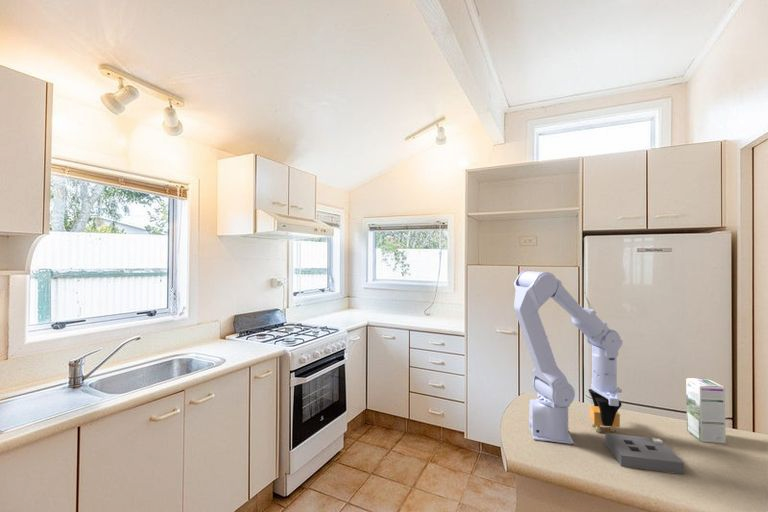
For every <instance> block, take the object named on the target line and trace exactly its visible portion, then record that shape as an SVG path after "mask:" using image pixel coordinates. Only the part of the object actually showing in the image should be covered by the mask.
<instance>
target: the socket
mask: <svg viewBox="0 0 768 512" xmlns="http://www.w3.org/2000/svg"><path fill="white" fill-rule="evenodd" d="M604 435H605V439H604V441H605V444H606V447H608V449H609V450H610V451H611V453H612V455H613V456H614V458H615V459H616V461H617V462H618V463H619V465H620V466H621V467H623V468H631V469H632V468H634V469H639V470H640V469H641V470H648V471H655V472H656V471H657V472H664V473H673V474H679V475H684V474H685V463H684V461H683V460H682V459H681V458H680V457H679V456H678V455H677V454H676V453H675V452H674V451H673V450H672V449H671V448H670V447H669V446H668V445H667V444H666V443H665V442H664V441H663V440H662V439H661V438H658V437H657V438H656V437H648V436H639V435H638V436H637V435H629V434H628V435H627V434H617V433H608V432H605V434H604Z"/></svg>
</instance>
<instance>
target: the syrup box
mask: <svg viewBox="0 0 768 512" xmlns="http://www.w3.org/2000/svg"><path fill="white" fill-rule="evenodd" d="M685 382H686V383H685V384H686V386H685V390H686V391H685V393H686V399H685V400H686V430H687V432H689V433H690V434H691V435H692V436H694V437H695V438H696V439H697V440H699V441H700V442H702V443H703V442H704V443H711V444H712V443H714V444H726V439H727V438H726V435H727V434H726V396H725V395H726V388H725V386H723V385H722V384H719V383H718V382H715V381H713V380H711V379H708V378H701V377H700V378H699V377H691V378H690V377H688V378H685Z"/></svg>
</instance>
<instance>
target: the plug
mask: <svg viewBox="0 0 768 512" xmlns="http://www.w3.org/2000/svg"><path fill="white" fill-rule="evenodd" d="M620 417H621V415H620V413H619V411H617V413H616V415H615V418H614V422H613V425H612V426H608V427H609V428H610V431H611V432H613V433H615V431H616V428H618V429H619V428H621V423H620V422H621V419H620ZM589 420H591V424H592V425H591V426H592V428H595V432H596V433H598V434H599V433H601V427H605V426H604V425H603V423H602V420H601V413H600V409H599V406H594V405H589Z"/></svg>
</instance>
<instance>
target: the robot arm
mask: <svg viewBox="0 0 768 512" xmlns="http://www.w3.org/2000/svg"><path fill="white" fill-rule="evenodd" d="M513 285H514V289H515V293H514V304H513V309H514V312H515V315H516V318H517V321H518V323H519V326H520V330H521V333H522V334H523V338H524V341H525V343H526V344H525V345H526V346H527V348H528V349H527V350H528V352H529V355H530V358H531V360H532V363H533V365H534V368H533V369H532V370H531V373H532V387H533V389H534V390H535V392H536V393H537V394H536V395H537V396H536V397H537V398H536V399H535V398H533V399H529V403H528V404H529V405H528V409H529V410H528V417H529V418H528V419H529V420H528V426H529V430H530V433H531V436H532V439H533V440H534V441H535V440H536V441H544V442H553V443H560V444H561V443H562V444H570V445H574V440H573V438H572V437H571V435H570V432H569V407H570V405H571V404H572V403H573V402H574V400H575V396H576V393H575V391H576V390H575V388H574V387H573V385H572V384H570V382H568V379H567V377H566V375H565V374H564V373H563V372H562V370H561V369H560V368H559V367H558V364H557V361H556V359H555V357H554V353H553V350H552V348H551V346H550V342H549V339H548V336H547V334H546V330H545V327H544V326H543V325H544V324H543V322H542V318H541V316H540V312H539V309H540V308H541V307H543V305H544V304H545V303H546V302H547V301H548V300H550V298H551V300H553V301H554V302H555V303H557V304H558V305H559V306H560V307H561V308H562V309H564V310H565V311H566V312H567V313H568V314H569V315H570V316H571V322H572V324H573V325H574V326H575V327H577V329H578V330H580V332H582V333H583V335H585V340H586V342H587V343H588V344H590V345H591V384H590V389H588V392H589V394H590V397H591V399H592V402H593V406H599V409H600V413H601V420H602V423H603V425H604V426H603V427H609V426H612V425H613V422H614V418H615V415H616V413H617V412H619V409H620V408H621V407H622V402H621V401H620V399H619V397H618V393H623V390H622V388H620V387H617V386H618V384H617V383H618V382H617V380H618V379H617V377H618V375H617V373H618V372H617V371H618V370H617V368H618V366H617V365H618V364H617V363H618V362H617V359H618V356H619V350H620V349H621V348H622V345H623V339H622V338H621V336H620V333H618V332H617V331H616V330H614V329H611V328H609V326H608V323H607V322H605V321H603V320H602V319H601V318H600V317H599V316H598V315H597V312H596V310H595V309H591V308H589V307H583V306H581V305H580V303H579V302H578V301H577V300H576V299H575V297H574V296H573V295H572V294H571V293H570V292H569V291H568V290H567V289H566V288H565V286H564V285H563V283H562V281H561V280H559V278H557V277H556V276H555V275H554V274H553V273H551V272H549V271H532V270H528V269H527V270H523V271H521V272H520V273H519V274H518V275H517V277H516V279H515V281H514V282H513Z"/></svg>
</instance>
